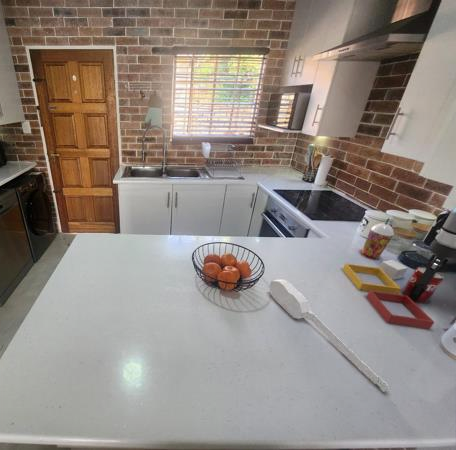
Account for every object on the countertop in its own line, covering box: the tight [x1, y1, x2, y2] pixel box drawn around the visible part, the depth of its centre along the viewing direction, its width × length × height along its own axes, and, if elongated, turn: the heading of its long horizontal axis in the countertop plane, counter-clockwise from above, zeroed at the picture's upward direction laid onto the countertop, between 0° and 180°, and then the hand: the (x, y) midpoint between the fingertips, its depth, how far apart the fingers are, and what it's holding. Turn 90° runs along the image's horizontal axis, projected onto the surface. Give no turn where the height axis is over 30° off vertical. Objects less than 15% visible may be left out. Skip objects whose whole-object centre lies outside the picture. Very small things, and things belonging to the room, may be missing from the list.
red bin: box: [365, 291, 435, 330], centre depth 85 cm, size 12×12×4 cm
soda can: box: [401, 266, 445, 304], centre depth 91 cm, size 7×7×12 cm
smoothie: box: [361, 218, 395, 260], centre depth 115 cm, size 8×8×20 cm
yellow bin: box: [342, 263, 402, 294], centre depth 100 cm, size 13×13×4 cm
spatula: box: [268, 279, 389, 393], centre depth 75 cm, size 38×8×4 cm
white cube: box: [378, 259, 409, 281], centre depth 104 cm, size 6×6×6 cm
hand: (414, 295), depth 93 cm, fingers closed on soda can, 7 cm apart
